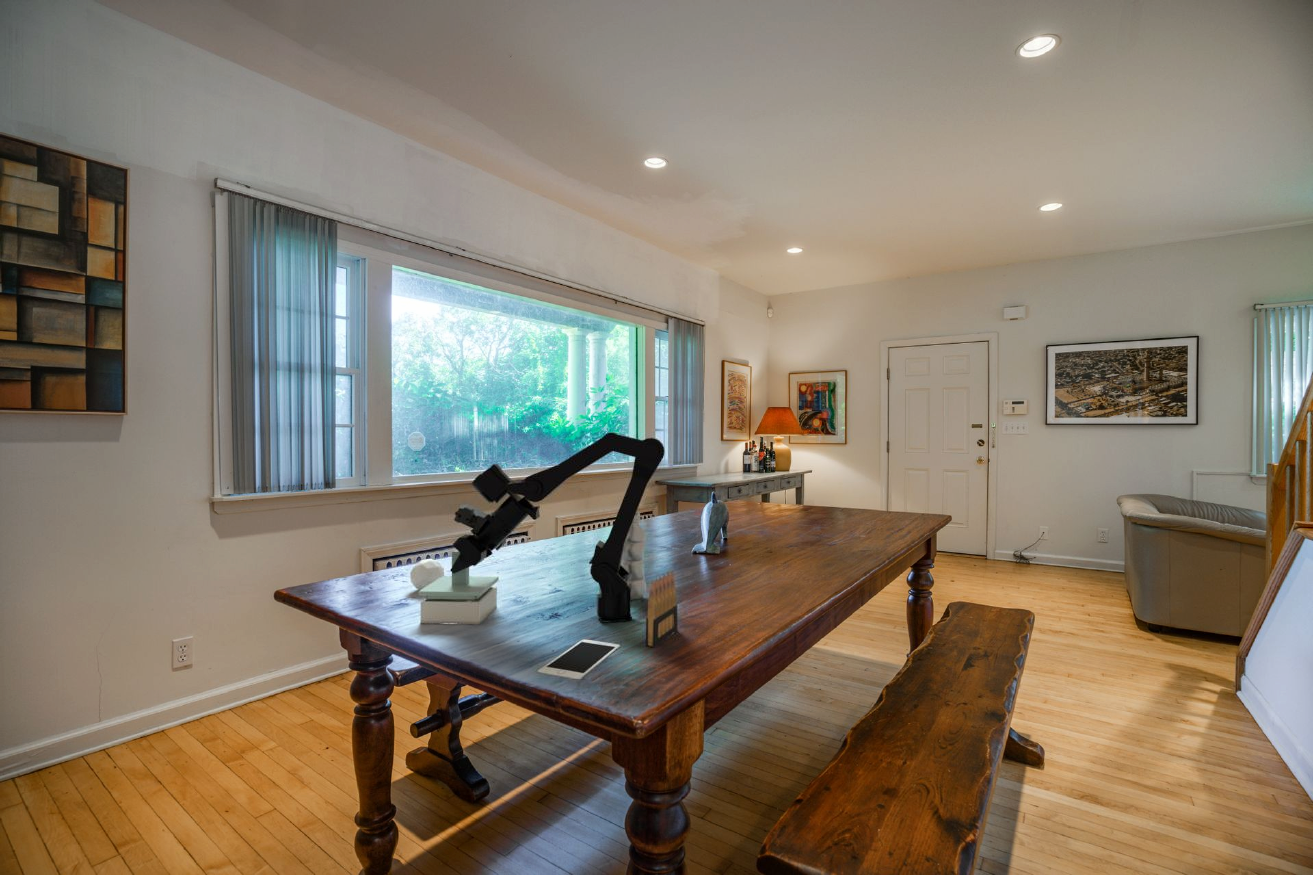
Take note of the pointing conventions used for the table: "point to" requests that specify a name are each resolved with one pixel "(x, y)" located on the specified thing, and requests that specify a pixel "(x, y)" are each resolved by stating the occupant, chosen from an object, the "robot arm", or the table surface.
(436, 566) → the geometric ball
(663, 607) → the ammunition clip
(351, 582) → the table surface
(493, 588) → the tub
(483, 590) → the lid
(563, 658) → the cell phone
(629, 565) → the plastic bottle
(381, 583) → the table surface
